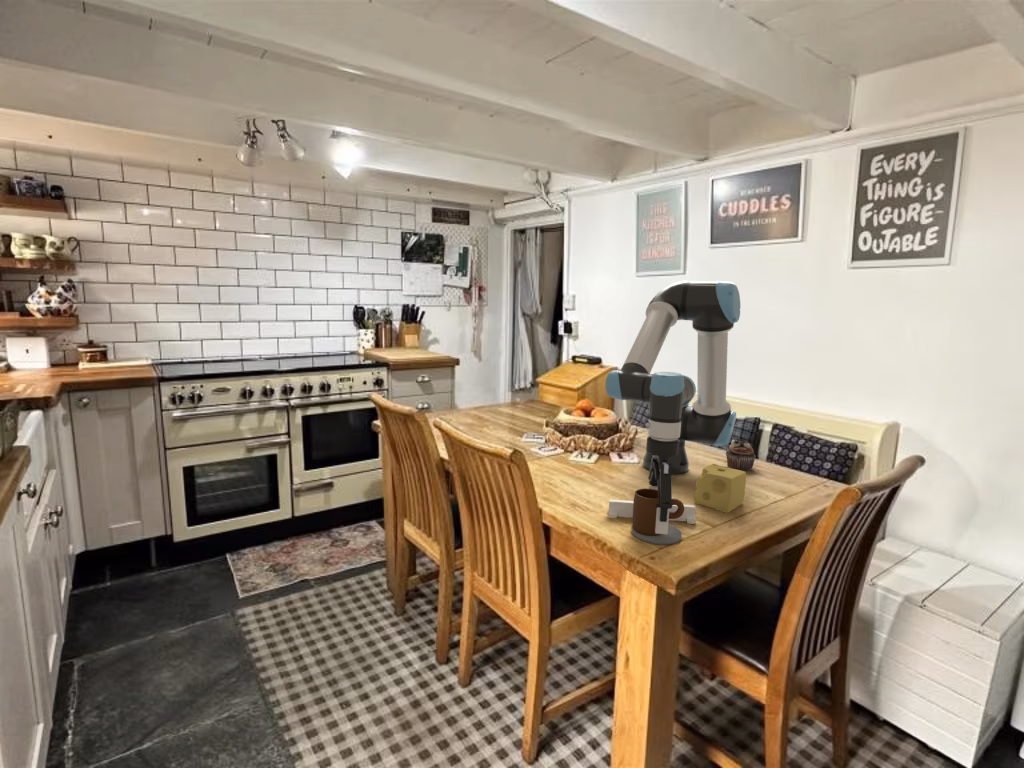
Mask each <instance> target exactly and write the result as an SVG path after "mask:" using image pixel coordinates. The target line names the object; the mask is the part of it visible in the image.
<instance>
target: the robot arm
mask: <svg viewBox="0 0 1024 768" xmlns="http://www.w3.org/2000/svg"><path fill="white" fill-rule="evenodd" d="M740 316H741V296H740V292H739V288H738V286H737V285H736V283H734V282H731V281H721V280H714V281H713V280H708V281H707V280H706V281H705V280H704V281H701V280H700V281H699V280H697V281H696V280H695V281H694V280H691V281H690V280H689V281H688V280H683V281H676V282H674V283H672V284H670V285H667V286H666V287H664V288H663V289H662V290H660V291H659V292H658V293H656V295H655V296H653V298H652V299H651V300H650V302H649V303H648V305H647V307H646V310H645V319H644V321H643V323H642V325H641V328H640V329H639V332H638V333H637V336H636V338H635V340H634V341H633V344H632V346H631V348H630V350H629V352H628V354H627V357H626V359H625V360H624V362H623V363H622V364H623V365H622V366H621V369H620V370H618V369H615V370H614V369H613V370H610V371H609V372H608V373H607V375H606V376H605V383H604V390H605V393H606V395H607V396H608V397H609V398H611V399H616V400H620V401H630V402H639V403H645V404H649V405H648V420H647V421H648V422H646V423H645V427H647V435H648V436H647V437H646V446H645V447H646V448H645V449H646V450H645V454H644V456H643V458H642V461H643V462H642V466H643V467H644V468H645V469H647V470H649V473H648V481H649V482H648V484H649V487H648V489H654V490H658V504H656V505H655V507H656V508H657V513H656V527H655V533H656V534H668V524H669V521H670V520H669V509H671V508H672V499H673V498H672V496H673V494H672V474H675V475H676V474H683V473H686V472H687V473H688V471H689V467H690V466H689V465H690V464H689V459H688V456H687V455H688V454H687V450H686V448H685V447H686V441H687V442H694V443H698V444H699V443H700V444H705V445H712V446H718V447H719V446H721V447H725V446H728V445H729V443H730V441H731V438H732V435H733V431H734V427H735V424H736V419H737V412H736V411H734V410H732V409H731V408H732V406H731V404H730V403H729V401H727V380H728V379H727V374H728V373H727V372H728V371H727V370H728V342H729V340H728V338H729V337H728V336H729V332H730V331H731V330H732V329H733V328H734V324H735V323H739V320H740ZM678 321H692V322H691V323H692V329H693V330H694V331H696V332H697V380H696V381H697V387H696V384H695V382H694V381H693V379H692V378H691V377H689V376H687V375H684V374H682V373H679V372H674V371H673V372H672V371H656V372H654V373H651V372H652V369H653V367H654V365H655V362H656V360H657V359H658V356H659V354H660V352H661V351H662V350H661V349H662V347H663V345H664V342H665V341H666V338H667V337H668V334H669V332H670V329H671V328H672V327H673V326H675V325H676V324H677V322H678ZM696 389H697V390H696ZM696 392H697V395H696ZM695 395H696V396H697V400H695V401H694V402H693V403H692V405H690V402H691V401H692V400H693V398H695ZM663 502H667V503H663Z"/></svg>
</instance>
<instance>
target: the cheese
mask: <svg viewBox="0 0 1024 768" xmlns="http://www.w3.org/2000/svg"><path fill="white" fill-rule="evenodd" d="M746 483H747V471H741V470H736V469H732V468H729V467H728V466H727V467H726V466H723V465H719V464H715V463H712V464H709V465H707V466H705V467H704V468H702V471H701V474H700V476H698V477H697V478H696V484H695V485H696V490H695V491H694V494H693V503H695V504H697V505H701V506H703V507H704V506H705V507H707V508H711V509H714V510H717V511H720V512H723V513H726V514H728V513H730V512H731V511H733V510H735V509H736V508H738V507H740V506H742V505H743V504H744V499H745V493H746V492H745V491H746Z"/></svg>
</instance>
